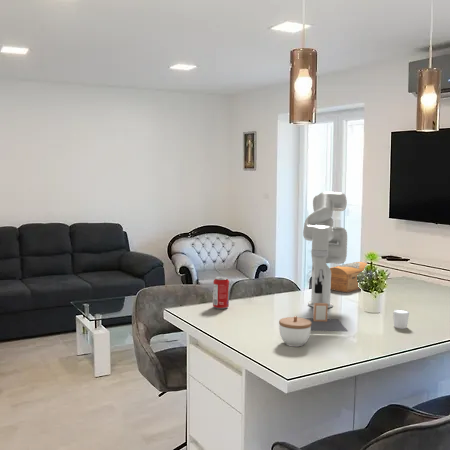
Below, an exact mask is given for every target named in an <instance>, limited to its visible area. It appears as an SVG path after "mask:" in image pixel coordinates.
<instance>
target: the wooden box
mask: <svg viewBox="0 0 450 450" xmlns="http://www.w3.org/2000/svg"><path fill="white" fill-rule="evenodd" d="M367 264H368V263H366V262H364V261H356V262H350V263H343V264H340V265H337V266H332V267H329V268H330V270H331V290H332V291H338V292H341V293H342V292H343V293H350V292H355V291H357V289H358V290H359V287H358V282H357V275H358V274H359V273H360V272H362V271H363V270H364V268H365V266H366V265H367Z"/></svg>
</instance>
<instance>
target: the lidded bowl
mask: <svg viewBox="0 0 450 450" xmlns="http://www.w3.org/2000/svg"><path fill="white" fill-rule="evenodd" d="M304 318H305V317H298V316H296V315H294V316H290V317H288V316H287V317H282V318H280V319H279V321H278V324H279V328H278V329H279V335H280V338H281V340H282V341H283V342H284V343H285V345H286V346H289V347H295V348H296V347H297V348H299V347H303V346H304V345H305V344H306V343H307V341H309V338H310V336H311V321H310V320H307V319H304Z"/></svg>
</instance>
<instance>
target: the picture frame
mask: <svg viewBox="0 0 450 450" xmlns="http://www.w3.org/2000/svg"><path fill="white" fill-rule="evenodd" d="M328 309H329V308H328V304H327V303H314V307H313V310H312V314H313V316H312V318H313V321H325V322H327V319H328Z"/></svg>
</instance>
